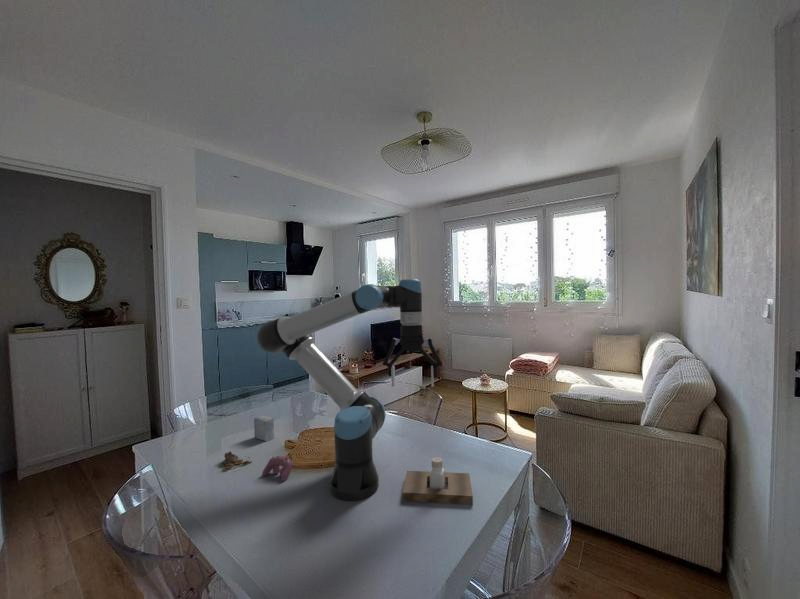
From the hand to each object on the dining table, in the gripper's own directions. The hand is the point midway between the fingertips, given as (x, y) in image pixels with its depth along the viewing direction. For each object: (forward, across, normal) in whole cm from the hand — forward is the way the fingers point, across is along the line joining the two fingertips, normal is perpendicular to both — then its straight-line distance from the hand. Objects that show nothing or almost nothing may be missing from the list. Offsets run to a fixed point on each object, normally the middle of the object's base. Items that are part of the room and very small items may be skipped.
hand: (412, 385), depth 112 cm
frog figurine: (+29, -66, -2) cm, 72 cm away
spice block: (+29, +8, -12) cm, 32 cm away
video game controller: (+29, -46, -8) cm, 55 cm away
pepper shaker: (+29, +8, -12) cm, 32 cm away
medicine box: (+29, -67, +20) cm, 76 cm away
